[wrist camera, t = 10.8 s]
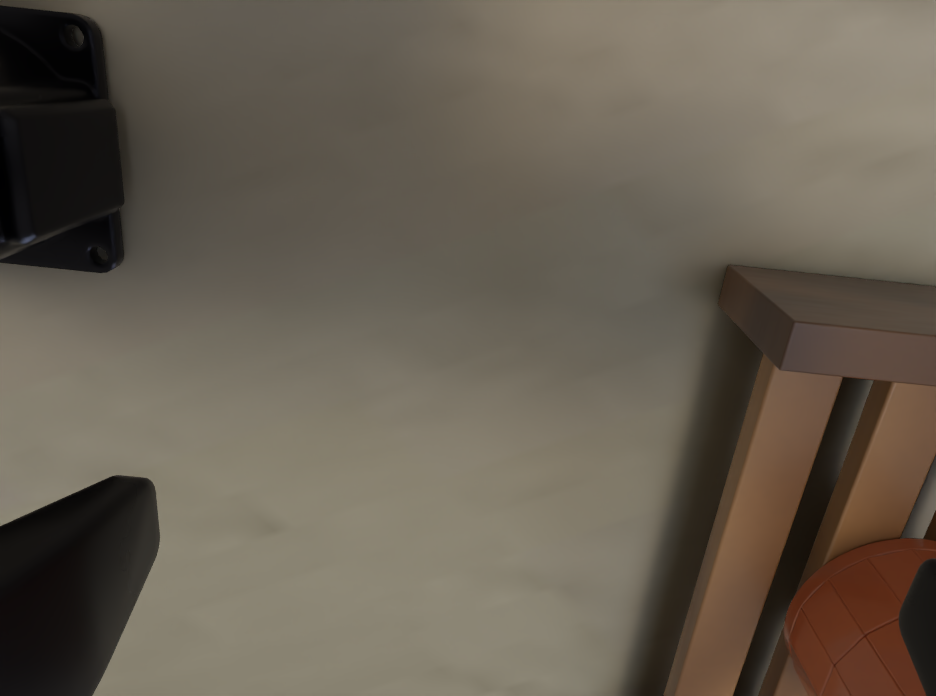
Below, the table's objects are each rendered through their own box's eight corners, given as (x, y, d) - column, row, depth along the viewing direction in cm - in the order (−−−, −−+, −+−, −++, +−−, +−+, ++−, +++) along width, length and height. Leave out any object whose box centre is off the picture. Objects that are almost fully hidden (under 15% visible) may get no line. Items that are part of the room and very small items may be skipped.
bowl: (760, 681, 21) (827, 837, 17) (816, 526, 18) (911, 660, 14) (948, 700, 21) (1061, 860, 17) (1027, 548, 19) (1182, 688, 14)
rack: (608, 729, 26) (631, 856, 22) (727, 264, 19) (793, 321, 15) (919, 760, 26) (1000, 892, 22) (1154, 309, 19) (1340, 378, 15)
